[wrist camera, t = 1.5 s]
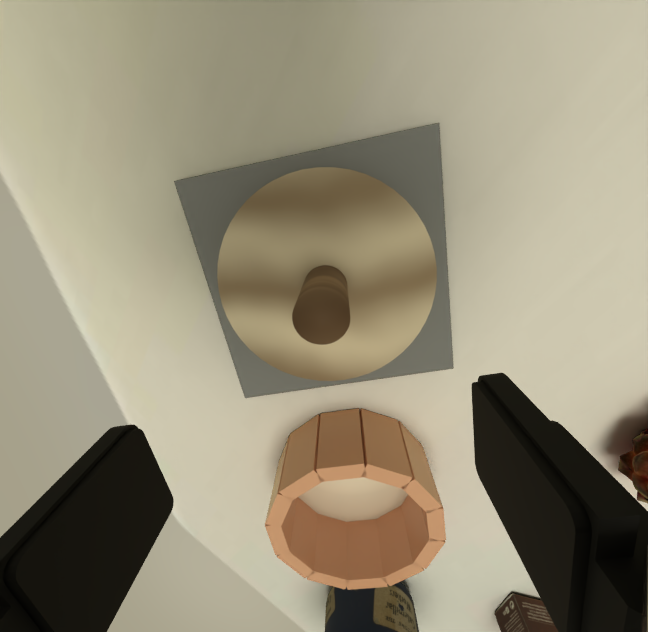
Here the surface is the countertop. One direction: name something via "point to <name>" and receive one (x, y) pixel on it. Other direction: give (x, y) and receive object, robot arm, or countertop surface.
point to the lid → (327, 274)
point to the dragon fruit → (637, 465)
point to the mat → (362, 156)
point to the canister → (371, 610)
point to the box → (524, 615)
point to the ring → (355, 502)
